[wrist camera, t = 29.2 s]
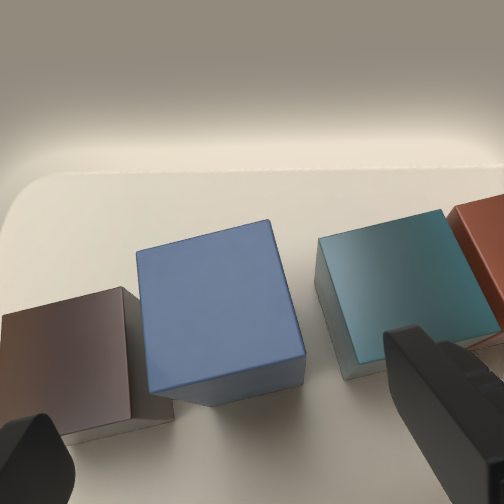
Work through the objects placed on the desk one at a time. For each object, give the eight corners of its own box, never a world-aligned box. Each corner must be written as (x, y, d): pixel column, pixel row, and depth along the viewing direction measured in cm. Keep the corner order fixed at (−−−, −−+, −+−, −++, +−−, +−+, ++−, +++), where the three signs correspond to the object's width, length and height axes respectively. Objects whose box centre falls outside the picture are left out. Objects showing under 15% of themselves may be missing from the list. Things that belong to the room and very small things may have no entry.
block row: (69, 445, 18) (-9, 452, 13) (69, 340, 20) (1, 314, 15) (568, 327, 17) (662, 293, 13) (514, 232, 20) (578, 175, 15)
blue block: (209, 407, 18) (147, 394, 11) (195, 315, 20) (134, 250, 12) (303, 384, 18) (307, 356, 11) (280, 294, 20) (269, 217, 12)
